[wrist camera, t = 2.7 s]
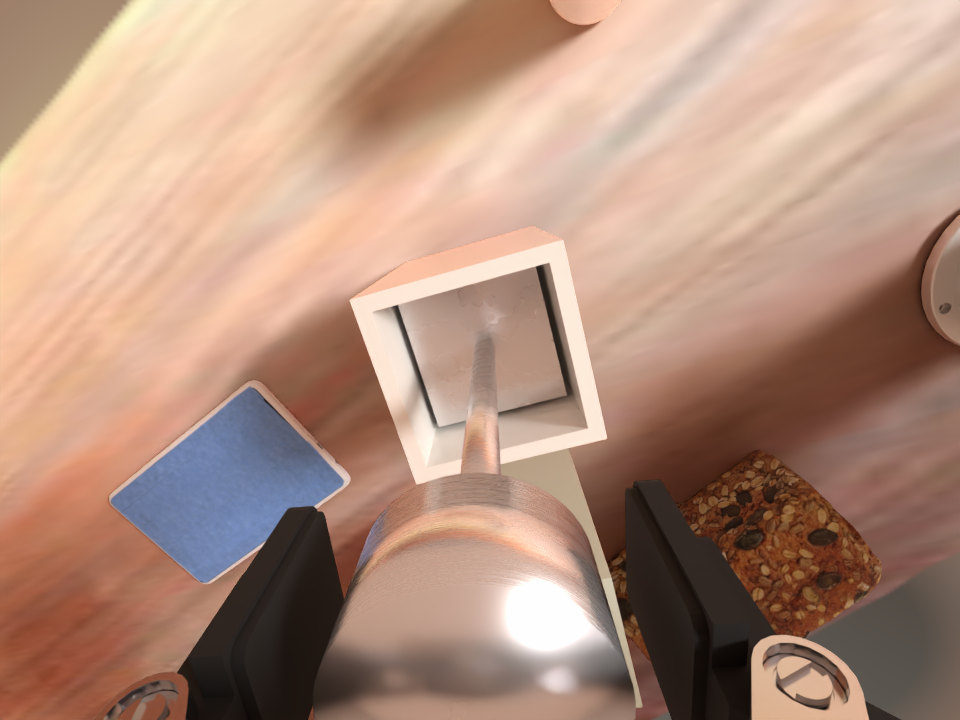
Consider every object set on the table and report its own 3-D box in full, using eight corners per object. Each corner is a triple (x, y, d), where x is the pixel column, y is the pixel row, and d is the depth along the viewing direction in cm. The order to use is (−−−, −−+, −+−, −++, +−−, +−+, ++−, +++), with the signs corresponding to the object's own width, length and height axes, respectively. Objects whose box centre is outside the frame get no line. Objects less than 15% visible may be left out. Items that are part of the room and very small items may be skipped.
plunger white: (534, 262, 26) (683, 447, 6) (565, 391, 28) (748, 833, 8) (398, 300, 26) (138, 573, 7) (439, 422, 29) (333, 897, 9)
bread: (661, 623, 48) (704, 727, 38) (592, 559, 46) (620, 651, 36) (827, 514, 44) (921, 599, 34) (760, 436, 42) (840, 505, 32)
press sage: (566, 442, 42) (611, 577, 27) (590, 536, 45) (642, 706, 29) (456, 468, 43) (438, 613, 28) (486, 558, 46) (484, 735, 30)
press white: (531, 225, 36) (563, 239, 21) (561, 348, 39) (607, 438, 24) (406, 261, 37) (349, 299, 22) (443, 379, 40) (416, 484, 25)
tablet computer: (258, 373, 41) (250, 378, 40) (356, 477, 44) (353, 485, 43) (112, 491, 45) (101, 500, 44) (211, 580, 48) (204, 590, 46)
